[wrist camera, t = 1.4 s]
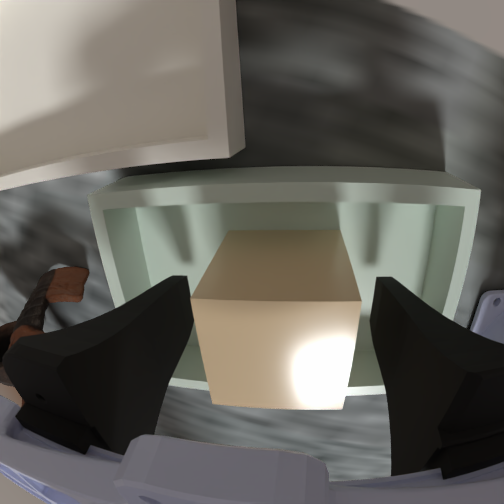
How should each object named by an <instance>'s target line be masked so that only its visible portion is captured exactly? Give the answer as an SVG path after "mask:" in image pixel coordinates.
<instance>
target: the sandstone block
mask: <svg viewBox="0 0 504 504" xmlns="http://www.w3.org/2000/svg"><path fill="white" fill-rule="evenodd" d="M190 300H191V306H192V311H193V316H194V321H195V326H196V331H197V336H198V341H199V346H200V350H201V355H202V360H203V364H204V369H205V373H206V378H207V382H208V386H209V390H210V395H211V399H212V403H213V404H219V405H229V406H240V407H253V408H270V409H302V410H328V409H342V408H343V403H344V399H345V394H346V390H347V385H348V380H349V375H350V370H351V365H352V360H353V354H354V349H355V343H356V337H357V331H358V325H359V318H360V312H361V304H362V300H361V296H360V293H359V289H358V286H357V282H356V279H355V275H354V272H353V269H352V265H351V262H350V259H349V255H348V252H347V249H346V246H345V243H344V240H343V237H342V233H341V230H229V231H228V232H227V234H226V236H225V238H224V239H223V241H222V243H221V245H220V246H219V248H218V250H217V252H216V253H215V255H214V257H213V259H212V260H211V262H210V264H209V266H208V268H207V269H206V271H205V273H204V275H203V276H202V278H201V280H200V282H199V284H198V285H197V287H196V289H195V291H194V293H193V294H192V296H191V298H190Z"/></svg>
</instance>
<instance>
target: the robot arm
mask: <svg viewBox="0 0 504 504" xmlns="http://www.w3.org/2000/svg"><path fill="white" fill-rule="evenodd" d="M190 298H191V294H190V288H189V283H188V277H187V276H185V275H172V276H170V277H168V278H166V279H164V280H163V281H161V282H159V283H158V284H156V285H154V286H153V287H151V288H150V289H148V290H146V291H145V292H143V293H142V294H140V295H138V296H137V297H135V298H133V299H131V300H130V301H128V302H126V303H124V304H123V305H121V306H119V307H117V308H115V309H113V310H111V311H109V312H107V313H105V314H103V315H101V316H98V317H96V318H94V319H91V320H88V321H86V322H83V323H80V324H77V325H74V326H71V327H68V328H64V329H61V330H57V331H53V332H48V333H43V334H37V335H31V336H23V337H20V338H19V339H18V340H17V341H16V342H15V343H14V344H13V345H12V346H11V347H10V348H9V349H8V350H7V352H6V353H5V354H4V355H3V357H2V359H3V367H4V369H5V372H6V374H7V376H8V377H9V379H10V381H11V382H12V384H13V385H14V387H15V388H16V390H17V391H18V393H19V394H20V396H21V397H22V399H23V400H24V402H25V403H24V405H23V406H22V407H19V406H18V405H17V404H16V403H14V402H13V401H11V400H9V399H7V398H5V397H3V396H1V395H0V472H1V473H2V474H3V475H4V476H5V477H7V478H8V479H10V480H11V481H13V482H14V483H15V484H17V485H18V486H20V487H22V488H23V489H25V490H26V491H28V492H29V493H31V494H32V495H34V496H36V497H37V498H39V499H40V500H42V501H44V502H45V503H47V504H504V290H494V291H487V292H485V293H484V294H483V295H482V296H481V298H480V301H479V304H478V307H477V310H476V313H475V316H474V319H473V322H472V325H471V328H470V330H468V329H466V328H464V327H462V326H460V325H459V324H457V323H455V322H454V321H452V320H450V319H448V318H447V317H445V316H444V315H442V314H441V313H439V312H438V311H436V310H435V309H433V308H432V307H431V306H429V305H428V304H427V303H425V302H424V301H423V300H421V299H420V298H419V297H417V296H416V295H415V294H414V293H412V292H411V291H410V290H409V289H407V288H406V287H405V286H404V285H402V284H401V283H400V282H399V281H397V280H396V279H395V278H393V277H391V276H390V277H376V282H375V289H374V296H373V302H372V308H371V314H370V320H369V322H370V329H371V336H372V342H373V346H374V350H375V353H376V357H377V360H378V364H379V368H380V371H381V375H382V379H383V382H384V386H385V390H386V395H387V402H388V411H389V420H390V434H391V477H383V478H374V479H363V480H351V481H331V482H329V472H328V470H327V467H326V464H325V463H324V462H322V461H321V460H319V459H316V458H314V457H312V456H310V455H308V454H306V453H303V452H295V451H288V450H282V449H267V448H252V447H240V446H230V445H222V444H214V443H206V442H199V441H193V440H187V439H181V438H175V437H170V436H164V435H154V432H155V428H156V424H157V420H158V417H159V413H160V409H161V406H162V403H163V399H164V396H165V393H166V390H167V387H168V385H169V382H170V380H171V377H172V375H173V373H174V371H175V369H176V367H177V364H178V362H179V360H180V358H181V356H182V354H183V352H184V349H185V347H186V345H187V343H188V340H189V338H190V335H191V331H192V328H193V324H194V316H193V311H192V306H191V300H190ZM496 298H497V299H496ZM495 299H496V301H495V302H494V300H495Z"/></svg>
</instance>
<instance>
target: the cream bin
mask: <svg viewBox="0 0 504 504" xmlns="http://www.w3.org/2000/svg"><path fill="white" fill-rule="evenodd" d="M244 148H245V132H244V117H243V102H242V86H241V71H240V56H239V41H238V27H237V12H236V0H0V191H1V190H5V189H9V188H13V187H18V186H22V185H27V184H32V183H36V182H41V181H46V180H51V179H57V178H62V177H68V176H73V175H79V174H85V173H91V172H98V171H104V170H111V169H118V168H126V167H134V166H142V165H150V164H159V163H169V162H180V161H191V160H204V159H218V158H230V157H231V156H233V155H234V154H236V153H238V152H239V151H241V150H242V149H244Z"/></svg>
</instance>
